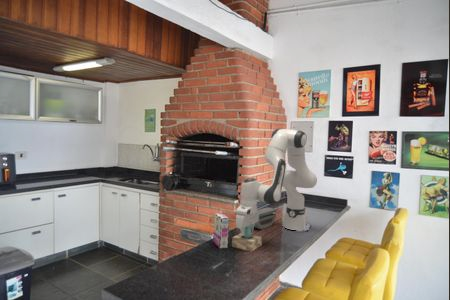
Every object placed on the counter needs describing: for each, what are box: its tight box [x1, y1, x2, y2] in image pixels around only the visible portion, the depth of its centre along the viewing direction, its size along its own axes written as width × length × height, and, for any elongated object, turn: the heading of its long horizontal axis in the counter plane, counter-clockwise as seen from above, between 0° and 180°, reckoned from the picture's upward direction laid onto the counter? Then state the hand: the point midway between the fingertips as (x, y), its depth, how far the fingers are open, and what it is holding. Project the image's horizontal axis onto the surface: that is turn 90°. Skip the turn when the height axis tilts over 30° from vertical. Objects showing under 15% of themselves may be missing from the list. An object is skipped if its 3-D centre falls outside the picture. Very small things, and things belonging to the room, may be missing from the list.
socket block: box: [231, 232, 263, 253], centre depth 163 cm, size 12×12×5 cm
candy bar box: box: [212, 212, 230, 249], centre depth 163 cm, size 11×5×16 cm, turn 21°
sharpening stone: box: [254, 206, 278, 230], centre depth 201 cm, size 25×8×11 cm, turn 138°
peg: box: [244, 222, 252, 239], centre depth 163 cm, size 4×4×14 cm
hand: (247, 233), depth 163 cm, fingers open, 8 cm apart
